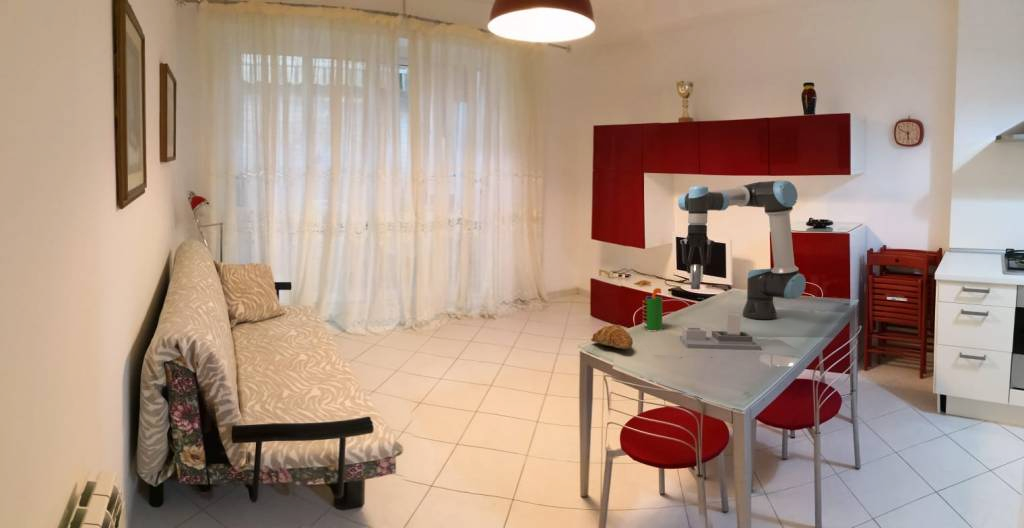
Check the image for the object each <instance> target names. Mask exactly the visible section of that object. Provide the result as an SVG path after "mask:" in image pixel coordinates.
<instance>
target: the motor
mask: <svg viewBox="0 0 1024 528" xmlns="http://www.w3.org/2000/svg"><path fill="white" fill-rule="evenodd" d="M657 294H662V289H661V288H660V287H656V288H654V289H653V291H652V294H651V296H645V299H643V300H642V306H643V307H642V314H643V315H642V318H643V319H642V322H645V325H646V324H647V326H646V328H647V329H648V330H660V329H662V330H663V297H660V296H656V295H657ZM660 331H661V330H660Z"/></svg>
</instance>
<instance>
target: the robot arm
mask: <svg viewBox="0 0 1024 528" xmlns="http://www.w3.org/2000/svg"><path fill="white" fill-rule="evenodd" d="M688 191H689V192H687V193H683V194H681V195H680V196H679V197H678V201H677V203H678V205H677V206H678V208H679V209H680V210H681V211H685V212H688V213H687V214H688V218H687V219H688V220H687V221H688V222H687V223H688V225H687V236H686V238H684V239H680V240H679V242H680V244H681V253H682V256H681V257H682V264H684V265H686V272H687V274H688V275H689V276H688V277H689V278H688V281H689V282H690V283H691V282H692V277H693V266H692V262H693V261H692V260H693V258H694V257H693V256H694V252H695V248H698V249H699V255H700V263H701V264H700V265H701V270H700V283H702V282H703V277H704V276H703V275H704V274H705V273H706V267H707V266H708V265H711V260H712V249H713V246H714V243H715V241H714V240H712V239H709V237H708V225H707V224H708V211H726V210H727V209H728V208H729V207H732V206H734V207H735V206H737V207H751V208H752V207H753V208H763V209H764V213H765V214H766V215H768V220H769V229H770V230H769V231H770V232H769V233H770V238H771V239H770V240H771V250H772V261H773V267H772V268H764V269H763V268H762V269H759V268H758V269H751V270H749V271H748V272H747V288H746V289H747V291H746V295H747V296H746V303H745V304H744V307H743V310H742V317H744V318H748V319H757V320H774V319H775V320H776V319H777V313H778V312H777V311H776V306H775V304H774V303H775V302H774V298H778V299H779V298H780V299H786V300H790V299H791V300H796V299H798V298H800V297H801V296H802V295H803V294H804V292H805V290H806V284H807V281H806V278H805V276H804V274H801V273H800V271H799V270H800V269H799V267H798V266H796V264H795V257H794V249H793V247H794V246H793V245H794V244H793V237H792V236H793V235H792V225H791V224H792V223H791V216H790V214H791V212H792V211H793V210H794V208H793V206H794V207H795V205H796V204H797V200H798V198H799V197H798V190H797V188H796V186H795V185H794V184H793V182H791V181H788V180H780V179H779V180H769V181H768V180H767V181H757V182H752V183H749V184H744V185H737V186H736V187H735V188H729V189H720V190H711V191H709V187H708V186H705V185H702V186H701V185H699V186H698V185H697V186H695V185H694V186H691V187H690V188H689V190H688ZM687 243H688V244H689V245H690V246H689V252H688V257H687ZM706 243H707V251H706V256H705V250H704V249H705V248H704V247H705V244H706Z"/></svg>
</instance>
